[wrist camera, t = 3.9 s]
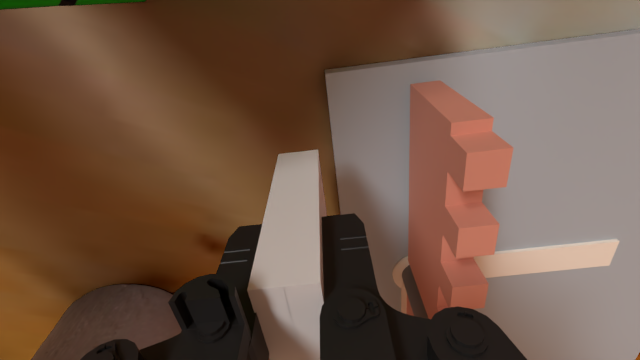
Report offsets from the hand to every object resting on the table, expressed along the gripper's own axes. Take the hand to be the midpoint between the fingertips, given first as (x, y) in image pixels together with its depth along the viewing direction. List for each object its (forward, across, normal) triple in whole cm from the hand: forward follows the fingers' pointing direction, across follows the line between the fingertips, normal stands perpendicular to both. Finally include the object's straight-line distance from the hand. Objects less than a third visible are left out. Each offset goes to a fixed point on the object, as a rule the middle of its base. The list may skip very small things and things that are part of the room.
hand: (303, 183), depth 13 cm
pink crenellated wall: (+2, +5, -2) cm, 6 cm away
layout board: (+4, +11, -8) cm, 15 cm away
